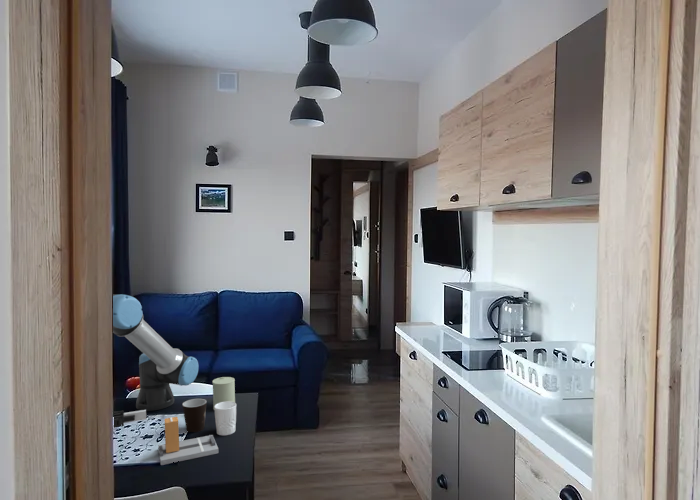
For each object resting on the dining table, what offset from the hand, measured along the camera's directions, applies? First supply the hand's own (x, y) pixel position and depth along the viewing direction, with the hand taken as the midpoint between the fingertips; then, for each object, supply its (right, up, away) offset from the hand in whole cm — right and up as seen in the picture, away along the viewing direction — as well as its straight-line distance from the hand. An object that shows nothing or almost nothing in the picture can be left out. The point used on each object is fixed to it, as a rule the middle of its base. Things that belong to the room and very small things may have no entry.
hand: (145, 414), depth 154 cm
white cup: (+20, -14, +22) cm, 33 cm away
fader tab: (+7, -13, +4) cm, 15 cm away
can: (+13, -13, +46) cm, 49 cm away
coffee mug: (+8, -14, +26) cm, 31 cm away
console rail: (+12, -15, +6) cm, 20 cm away
